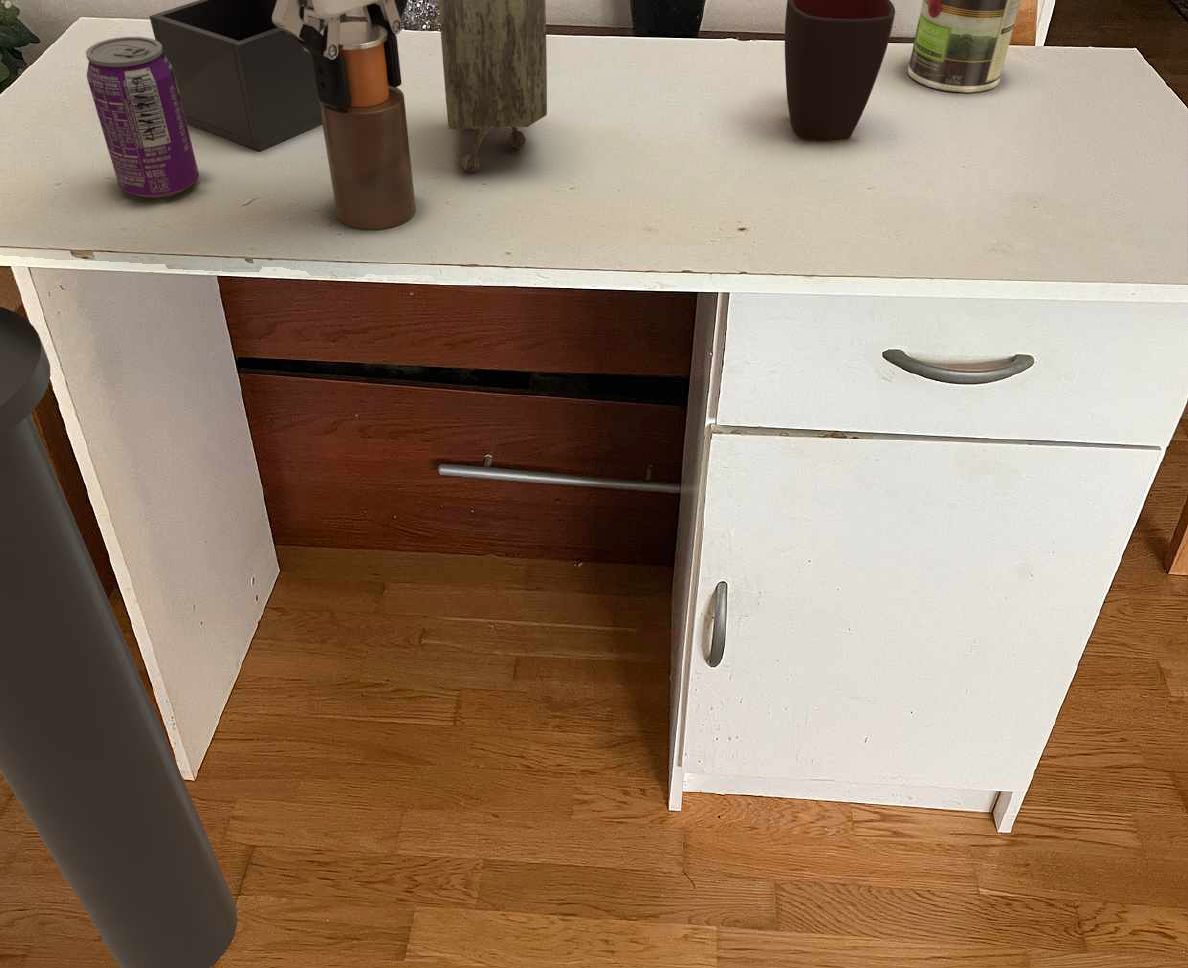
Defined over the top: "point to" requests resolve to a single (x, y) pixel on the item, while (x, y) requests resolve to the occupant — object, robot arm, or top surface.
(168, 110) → the beverage can
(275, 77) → the open storage bin
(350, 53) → the cylinder
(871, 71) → the cup
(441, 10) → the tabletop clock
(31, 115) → the top surface
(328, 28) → the robot arm
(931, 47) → the coffee can
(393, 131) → the stand
